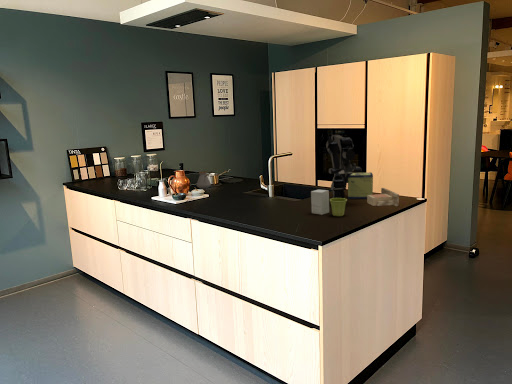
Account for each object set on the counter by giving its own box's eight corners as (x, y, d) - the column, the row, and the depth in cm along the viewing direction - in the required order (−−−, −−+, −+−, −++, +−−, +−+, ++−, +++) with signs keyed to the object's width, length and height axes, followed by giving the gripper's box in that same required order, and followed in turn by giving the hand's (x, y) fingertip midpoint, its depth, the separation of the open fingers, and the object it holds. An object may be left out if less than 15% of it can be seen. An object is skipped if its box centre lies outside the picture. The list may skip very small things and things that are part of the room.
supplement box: (329, 212, 236) (329, 190, 234) (321, 215, 231) (321, 192, 229) (318, 210, 241) (318, 189, 239) (311, 213, 236) (310, 191, 234)
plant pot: (343, 212, 234) (343, 197, 233) (349, 216, 225) (349, 200, 223) (327, 213, 233) (327, 198, 231) (333, 217, 224) (333, 201, 222)
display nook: (380, 207, 242) (380, 195, 241) (366, 199, 264) (366, 188, 262) (398, 206, 243) (398, 194, 242) (383, 198, 265) (383, 187, 263)
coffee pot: (194, 188, 337) (192, 169, 334) (206, 186, 344) (205, 168, 341) (207, 191, 320) (206, 171, 318) (220, 189, 327) (219, 170, 324)
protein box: (373, 198, 266) (373, 174, 263) (347, 199, 269) (347, 175, 266) (372, 195, 276) (372, 172, 273) (347, 195, 279) (347, 172, 276)
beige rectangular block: (372, 206, 247) (372, 197, 246) (367, 203, 256) (367, 194, 255) (392, 204, 248) (392, 196, 247) (386, 201, 257) (386, 193, 256)
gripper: (333, 160, 242) (333, 187, 244) (365, 159, 243) (364, 185, 246) (328, 159, 252) (328, 184, 255) (358, 157, 254) (358, 182, 257)
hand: (345, 184), depth 253 cm, fingers closed
